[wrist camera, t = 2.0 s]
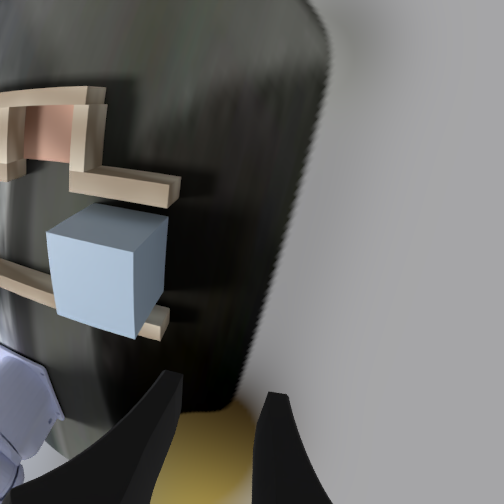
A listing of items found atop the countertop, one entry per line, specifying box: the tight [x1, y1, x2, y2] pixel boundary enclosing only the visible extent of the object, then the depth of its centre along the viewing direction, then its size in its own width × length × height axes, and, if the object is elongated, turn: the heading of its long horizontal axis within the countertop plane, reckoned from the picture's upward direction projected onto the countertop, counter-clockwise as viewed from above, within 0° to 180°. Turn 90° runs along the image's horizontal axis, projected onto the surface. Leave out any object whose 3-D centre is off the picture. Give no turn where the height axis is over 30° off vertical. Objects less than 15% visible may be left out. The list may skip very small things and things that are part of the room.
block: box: [46, 203, 169, 339], centre depth 16 cm, size 5×5×5 cm
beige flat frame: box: [0, 86, 181, 341], centre depth 16 cm, size 14×25×3 cm, turn 80°
